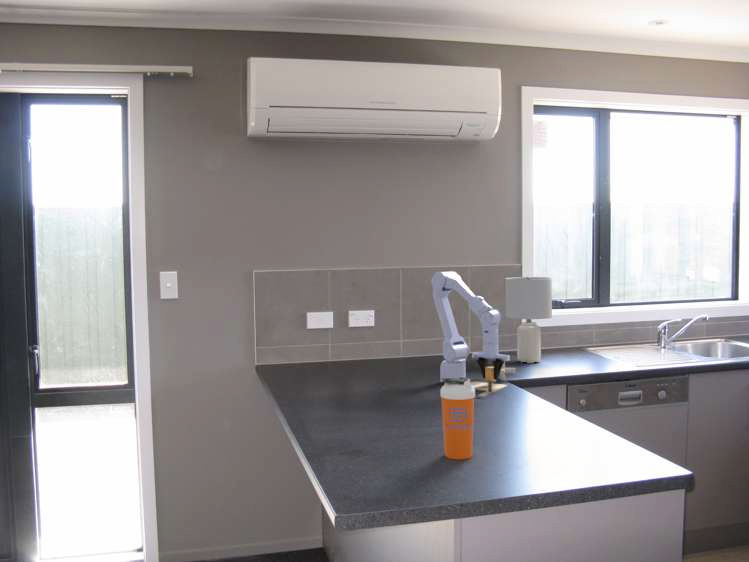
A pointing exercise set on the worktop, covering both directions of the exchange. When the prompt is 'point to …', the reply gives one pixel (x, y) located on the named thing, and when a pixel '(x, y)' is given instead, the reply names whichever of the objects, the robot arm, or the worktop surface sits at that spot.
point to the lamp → (529, 312)
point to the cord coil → (489, 373)
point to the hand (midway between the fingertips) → (490, 378)
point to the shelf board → (485, 386)
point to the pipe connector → (503, 370)
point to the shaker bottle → (458, 417)
